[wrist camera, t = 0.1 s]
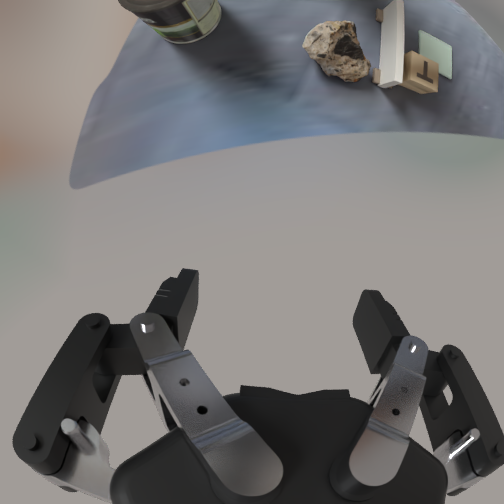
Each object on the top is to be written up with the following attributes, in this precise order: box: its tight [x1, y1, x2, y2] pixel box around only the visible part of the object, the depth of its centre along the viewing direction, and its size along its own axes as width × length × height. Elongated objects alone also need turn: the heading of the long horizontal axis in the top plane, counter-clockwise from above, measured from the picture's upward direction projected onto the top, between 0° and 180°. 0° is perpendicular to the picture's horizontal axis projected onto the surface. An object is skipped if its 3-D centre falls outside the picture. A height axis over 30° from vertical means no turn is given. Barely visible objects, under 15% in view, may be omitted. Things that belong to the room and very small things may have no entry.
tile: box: [419, 30, 452, 79], centre depth 27 cm, size 7×7×1 cm
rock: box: [303, 20, 371, 82], centre depth 28 cm, size 9×7×10 cm
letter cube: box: [398, 51, 439, 94], centre depth 28 cm, size 5×5×5 cm
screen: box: [372, 0, 404, 89], centre depth 26 cm, size 15×3×6 cm, turn 173°
